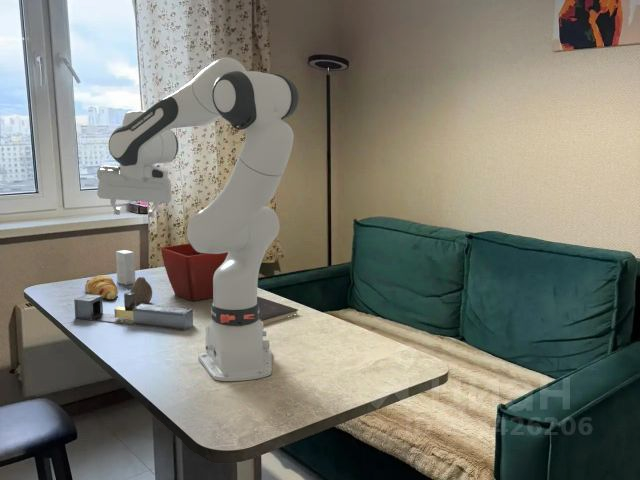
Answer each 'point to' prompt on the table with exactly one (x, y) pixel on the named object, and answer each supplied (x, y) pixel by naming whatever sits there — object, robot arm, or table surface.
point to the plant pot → (191, 270)
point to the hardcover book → (273, 310)
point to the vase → (142, 291)
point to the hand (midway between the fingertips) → (134, 215)
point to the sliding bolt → (126, 307)
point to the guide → (135, 314)
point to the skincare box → (125, 267)
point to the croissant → (101, 287)
